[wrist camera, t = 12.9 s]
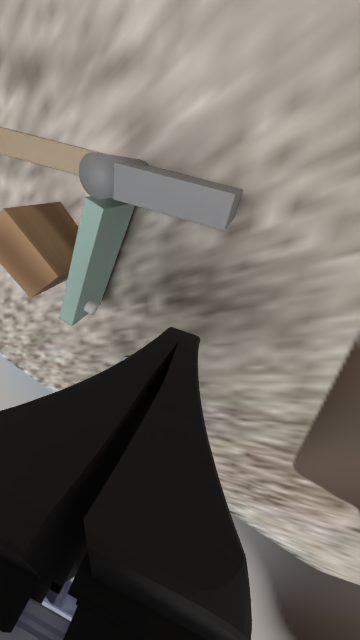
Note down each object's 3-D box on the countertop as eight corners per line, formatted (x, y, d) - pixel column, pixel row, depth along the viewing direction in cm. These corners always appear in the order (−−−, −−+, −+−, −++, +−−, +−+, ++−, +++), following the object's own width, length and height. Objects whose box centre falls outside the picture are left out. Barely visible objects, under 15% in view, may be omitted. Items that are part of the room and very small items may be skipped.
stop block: (60, 201, 18) (3, 208, 14) (99, 256, 20) (58, 276, 16) (36, 228, 20) (-20, 240, 16) (73, 276, 22) (30, 298, 18)
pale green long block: (112, 187, 16) (74, 189, 13) (144, 208, 16) (114, 215, 13) (83, 293, 22) (51, 313, 18) (106, 308, 22) (79, 331, 18)
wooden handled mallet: (233, 220, 15) (222, 235, 11) (-23, 148, 18) (-106, 140, 14) (244, 186, 14) (236, 189, 10) (-31, 115, 17) (-124, 95, 13)
